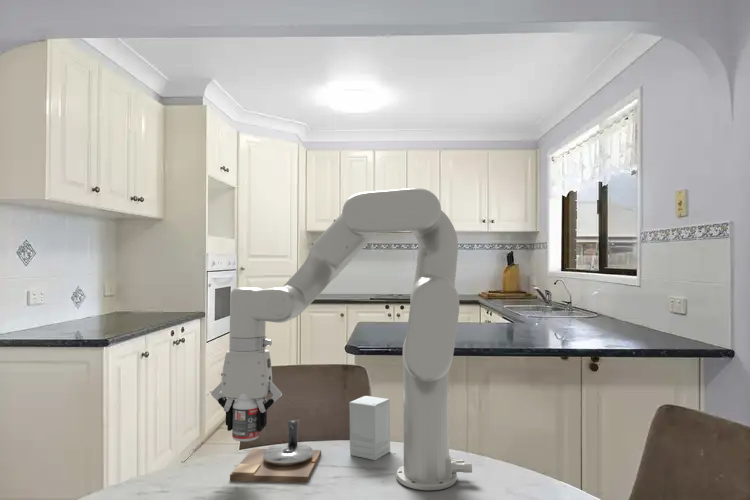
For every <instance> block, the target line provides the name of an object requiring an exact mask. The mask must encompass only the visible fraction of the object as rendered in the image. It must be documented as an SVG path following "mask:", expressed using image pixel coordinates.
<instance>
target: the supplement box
mask: <svg viewBox="0 0 750 500" xmlns="http://www.w3.org/2000/svg"><path fill="white" fill-rule="evenodd" d="M348 404H349V405H348V408H349V455H350V456H354V457H357V458H358V457H360V458H363V459H368V460H372V461H376V460H378V459H380V458H382V457H383V456H385V455H386V454H388V453H390V452H391V416H390V414H391V413H390V411H391V410H390V399H389V398H383V397H378V396H370V395H363V396H361V397H359V398H358V397H357V398H356V399H354V400H352V401H349V402H348Z"/></svg>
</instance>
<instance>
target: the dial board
mask: <svg viewBox="0 0 750 500" xmlns="http://www.w3.org/2000/svg"><path fill="white" fill-rule="evenodd" d="M266 449H267V448H252V449H251V450H250V451H249V453H248V454H246V456H245V457H244V458H243V460H241V462H240V463H239V464H238V465H237V466H236V467H235V468H234V470H233V471H232V472H231V473H230V474H229V481H231V482H268V483H269V482H270V483H271V482H272V483H306V484H308V483H309V481H310V479H311V477H312V475H313V473H314V471H315V469H316V467H317V465H318V463H319V460H320V459H321V457H322V449H312V450H313V456H312V458H311V459H309V460H308V461H306V462H303V463H300V464H296V465H287V466H280V465H272V464H269V463H267V462H265V461H264V459H263V453H264V451H265V450H266Z"/></svg>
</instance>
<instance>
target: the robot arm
mask: <svg viewBox="0 0 750 500" xmlns="http://www.w3.org/2000/svg"><path fill="white" fill-rule="evenodd" d="M343 204H344V205H343V206H342V209H341V211H342V212H341V214H339V216H337V218H336V219H335V220H334V221H333V222H332V223H331V224H330V225H329V226H328V228H327V229H325V230H324V232H323V233H321V235H320V236H318V238H317V239H316V240H315V241H314V242H313V244H312V245H311V247H310V249H309V252H308V254H307V257H306V259H305V260H304V262H303V264H302V265H301V266H300V268H298V270H297V271H296V272H295V273H294V274H293V275H292V276H291V277H290V279H288V281H286V282H285V284H283V286H278V287H271V288H264V289H263V288H262V287H256V286H255V287H254V286H253V287H251V286H250V287H249V286H245V287H244V286H243V287H236V288H233V289H232V290H231V292H230V295H229V296H230V299H229V342H228V343H229V346H228V347H229V348H228V350H226V353H225V355H224V361H223V367H222V375H221V382H220V383H219V384H218V385H217V386H216V387H215V388H214V389H213V390H212V392H211V393H210V394H211V396H212V398H214V399H215V400H216V401H217V403H218V404H219V405H220V406H221V407H222V409H223V411H224V412H225V426H227V428H226V429H227V431H228V432H230V431H232V425H233V404H234V403H235V402H236V401H237V399H238V398H239V397H240V395H241V394H246V395H247V397H248V398H250V399H256V401H257V404H258V407H259V412H258V413H257V431H258V432H260V433H261V432H262V431H263V430H264V428H265V427H266V426H267V423H268V422H267V419H268V418H267V416H268V415H267V414H268V412H267V411H268V410H269V408H270V407H272V405H273V404H274V403H276V402H277V400H279V399H280V398H281V397H282V395H283V392H282V391H281V390H280V389H279V388H278V387H277V386H276V384H275V383H274V382H273V371H272V370H273V369H272V368H273V367H272V359H271V356H270V355H271V354H270V351H269V349H266V348H267V347H268V346H269V347H270V346H272V345H273V344H272V343H273V341H272V339H268V337H267V336H266V324H267V323H266V322H271V323H277V324H282V323H286V322H289V321H291V320H293V319H295V318H297V317H298V316H300V315H301V314H302V313H304V312H305V310H306V309H307V308H308V307H309V306H310V305H311V304H312V303H313V302H314V301H315V300H316V299H317V297H319V295H320V294H321V293H323V291H324V290H325V289H326V288H327V287H328V286H329V284H330V283H331V282H332V281H334V279H336V278H337V277H338V276H339V275H340V274H341V272H342V271H343V270H344V269H345V268H346V267H347V266H348V265H349V263H351V262H352V260H353V259H354V258H355V257H356V256H357V255H358V254H359V253H360V252H361V251H362V250H363V249H364V247H366V246H367V245H368V244H369V243H370V242H371V241H372V239H373V238H374V237H375V236H376V235H377V234H382V233H386V234H387V233H399V232H400V233H401V232H410V233H412V234H413V235H414V236H415V238H416V240H417V246H418V248H417V258H416V269H415V275H414V282H413V286H412V290H411V292H410V297H409V301H410V303H409V304H410V305H409V311H408V312H409V313H408V321H407V327H406V336H405V339H404V341H403V345H402V374H403V375H402V376H403V377H402V378H403V383H402V384H403V390H402V391H403V393H402V394H403V404H402V405H403V407H402V409H403V414H402V415H403V419H402V421H403V465H402V466H400V467H399V468H398V469H397V470H396V480H397V481H398V482H399V483H400V484H401V485H402V486H405V487H407V488H410V489H414V490H419V491H440V490H445V489H447V488H450V487H452V486H454V485H455V484H456V482H457V481H458V480H457V479H458V477H457V473H466V474H468V473H470V474H471V473H473V466H472V465H473V464H472V462H465V459H454V458H452V456H451V453H450V433H449V432H450V427H449V426H450V425H449V423H450V422H449V420H450V418H449V414H450V413H449V404H450V403H449V402H450V399H449V397H450V396H449V370H450V368H451V366H452V362H453V358H454V353H455V346H456V345H455V344H456V339H457V338H456V337H457V330H458V325H459V324H458V323H459V316H460V315H459V314H460V296H459V292H458V291H457V289H456V286H455V285H456V278H457V277H456V275H457V268H458V267H457V265H458V263H457V262H458V256H459V255H458V254H459V241H458V236H457V232H456V230H455V227H454V225H453V223H452V221H451V220H450V218H449V216H448V215H447V214H446V213H445V212H444V211H443V210H442V208H441V203H440V201H439V199H438V196H436V195H435V193H433V192H432V191H430V190H428V189H425V188H421V187H420V188H419V187H415V188H414V187H413V188H401V189H399V188H398V189H389V190H376V191H363V192H358V193H355V194H353V195H351V196H350V197H348V198H347V200H346V201H345V202H344V203H343ZM270 394H272V396H271V397H270V398H269V399H267V396H268V395H270Z"/></svg>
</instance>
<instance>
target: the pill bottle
mask: <svg viewBox="0 0 750 500" xmlns="http://www.w3.org/2000/svg"><path fill="white" fill-rule="evenodd" d="M258 412H259V407H258V404H257V401H256V399H250V398H248V397H247V395H246V394H241V395H240V397H239V398H238V399H236V401H235V403H234V404H233V425H232V430H231V431H232V433H231V435H232V439H233V441H236V442H245V443H246V442H252V441H255V440H256V439H258V438H259V437H260V433H261V432H258V431H257V413H258Z"/></svg>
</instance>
